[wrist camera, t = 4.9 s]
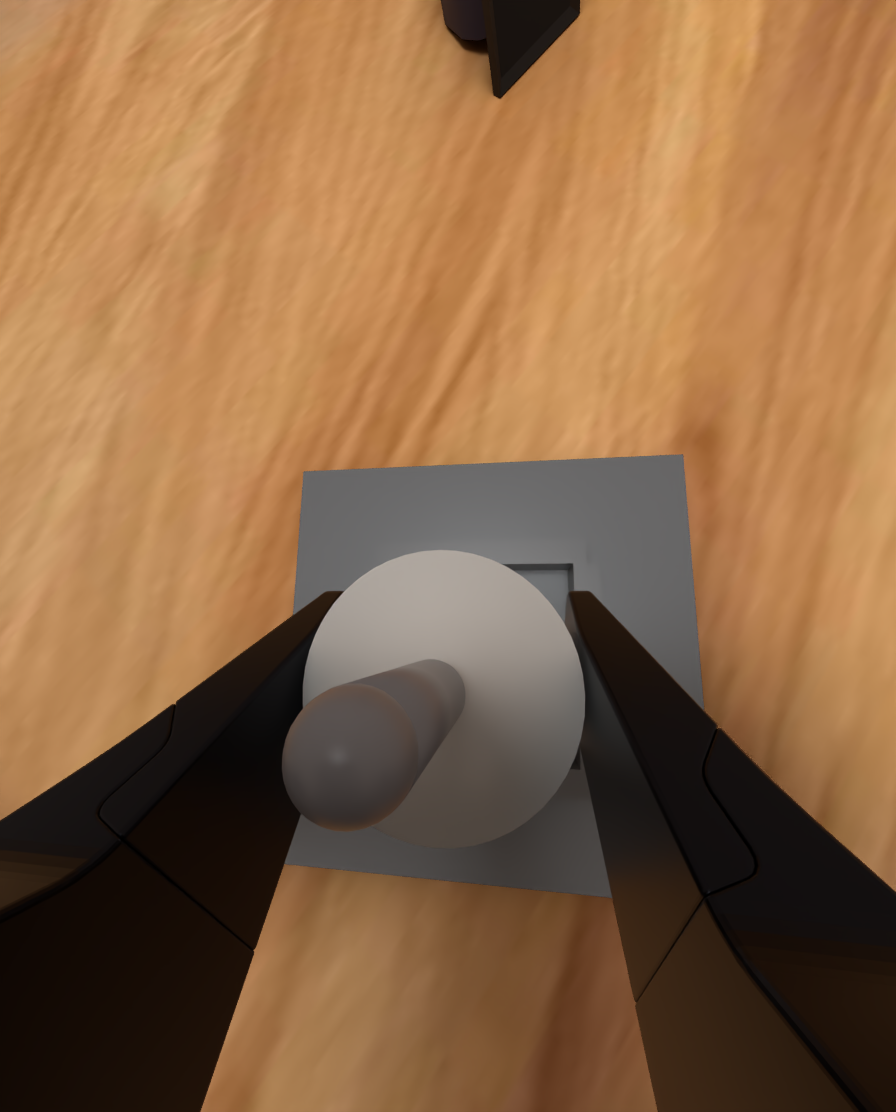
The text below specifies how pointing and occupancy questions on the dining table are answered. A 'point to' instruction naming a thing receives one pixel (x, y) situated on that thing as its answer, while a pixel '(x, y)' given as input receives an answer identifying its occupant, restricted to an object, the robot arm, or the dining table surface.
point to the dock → (549, 565)
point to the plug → (435, 704)
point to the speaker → (510, 31)
